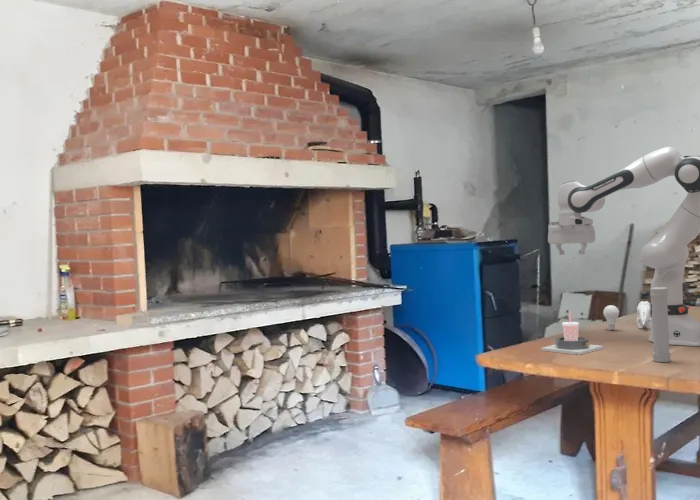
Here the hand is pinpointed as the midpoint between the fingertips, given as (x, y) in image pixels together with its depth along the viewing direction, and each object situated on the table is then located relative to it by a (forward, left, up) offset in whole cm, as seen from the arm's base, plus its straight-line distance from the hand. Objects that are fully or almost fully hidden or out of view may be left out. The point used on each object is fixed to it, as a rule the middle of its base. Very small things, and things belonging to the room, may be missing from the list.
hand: (571, 254), depth 281 cm
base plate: (-15, +26, -34) cm, 45 cm away
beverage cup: (-15, +26, -33) cm, 45 cm away
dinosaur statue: (-12, -35, -34) cm, 50 cm away
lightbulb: (-4, -22, -34) cm, 41 cm away
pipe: (-50, +28, -34) cm, 67 cm away
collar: (-15, +26, -34) cm, 45 cm away
